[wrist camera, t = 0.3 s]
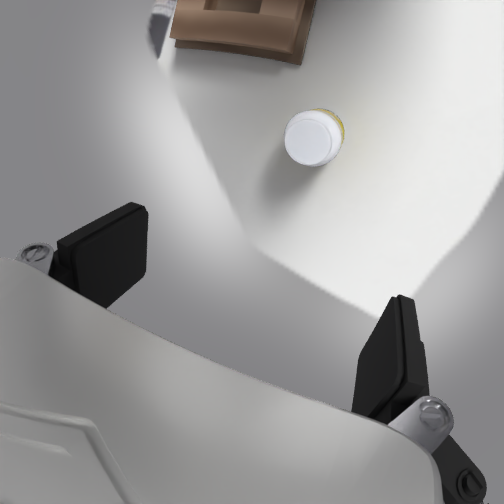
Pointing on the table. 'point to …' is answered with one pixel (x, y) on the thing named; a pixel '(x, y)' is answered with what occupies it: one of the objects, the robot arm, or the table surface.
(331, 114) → the supplement bottle
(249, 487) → the robot arm
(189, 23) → the bottle holder
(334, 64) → the table surface
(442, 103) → the table surface
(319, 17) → the table surface
